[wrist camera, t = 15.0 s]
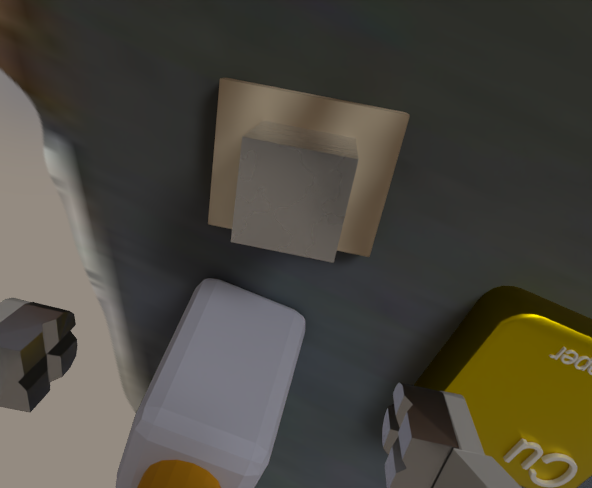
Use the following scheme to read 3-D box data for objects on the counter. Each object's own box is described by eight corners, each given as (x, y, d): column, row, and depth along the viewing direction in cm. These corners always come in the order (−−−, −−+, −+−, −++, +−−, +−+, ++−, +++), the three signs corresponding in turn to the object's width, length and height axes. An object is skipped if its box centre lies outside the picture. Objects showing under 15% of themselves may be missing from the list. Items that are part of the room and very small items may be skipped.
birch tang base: (406, 112, 26) (421, 125, 21) (368, 248, 30) (373, 285, 25) (226, 77, 26) (199, 81, 21) (213, 216, 30) (188, 247, 25)
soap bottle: (165, 381, 38) (-30, 735, 18) (205, 266, 32) (-19, 602, 12) (257, 416, 39) (167, 795, 19) (313, 309, 33) (267, 695, 13)
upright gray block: (355, 138, 25) (358, 159, 20) (335, 223, 28) (333, 262, 23) (263, 120, 26) (242, 136, 20) (252, 207, 28) (230, 241, 23)
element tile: (659, 346, 32) (710, 392, 27) (538, 458, 38) (564, 509, 34) (493, 274, 30) (518, 309, 26) (397, 402, 37) (405, 447, 32)
